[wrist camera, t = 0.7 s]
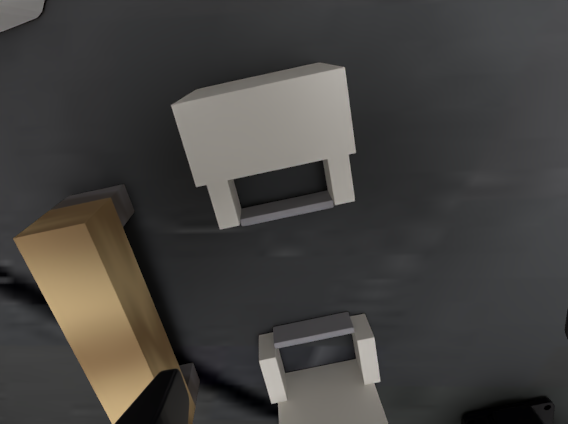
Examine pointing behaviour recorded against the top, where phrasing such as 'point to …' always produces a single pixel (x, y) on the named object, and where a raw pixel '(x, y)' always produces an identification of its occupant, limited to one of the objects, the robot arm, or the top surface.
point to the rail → (101, 296)
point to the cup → (18, 12)
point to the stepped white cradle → (287, 215)
